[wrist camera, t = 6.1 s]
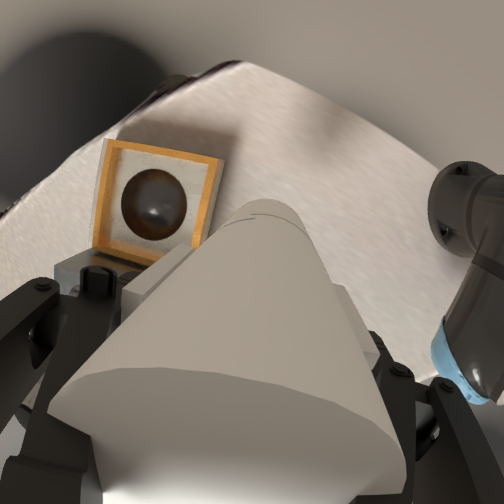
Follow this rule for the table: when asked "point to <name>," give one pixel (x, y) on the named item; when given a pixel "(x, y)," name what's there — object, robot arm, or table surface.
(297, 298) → the cylindrical container
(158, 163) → the grey stand with tray
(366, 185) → the table surface
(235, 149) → the table surface
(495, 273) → the robot arm
